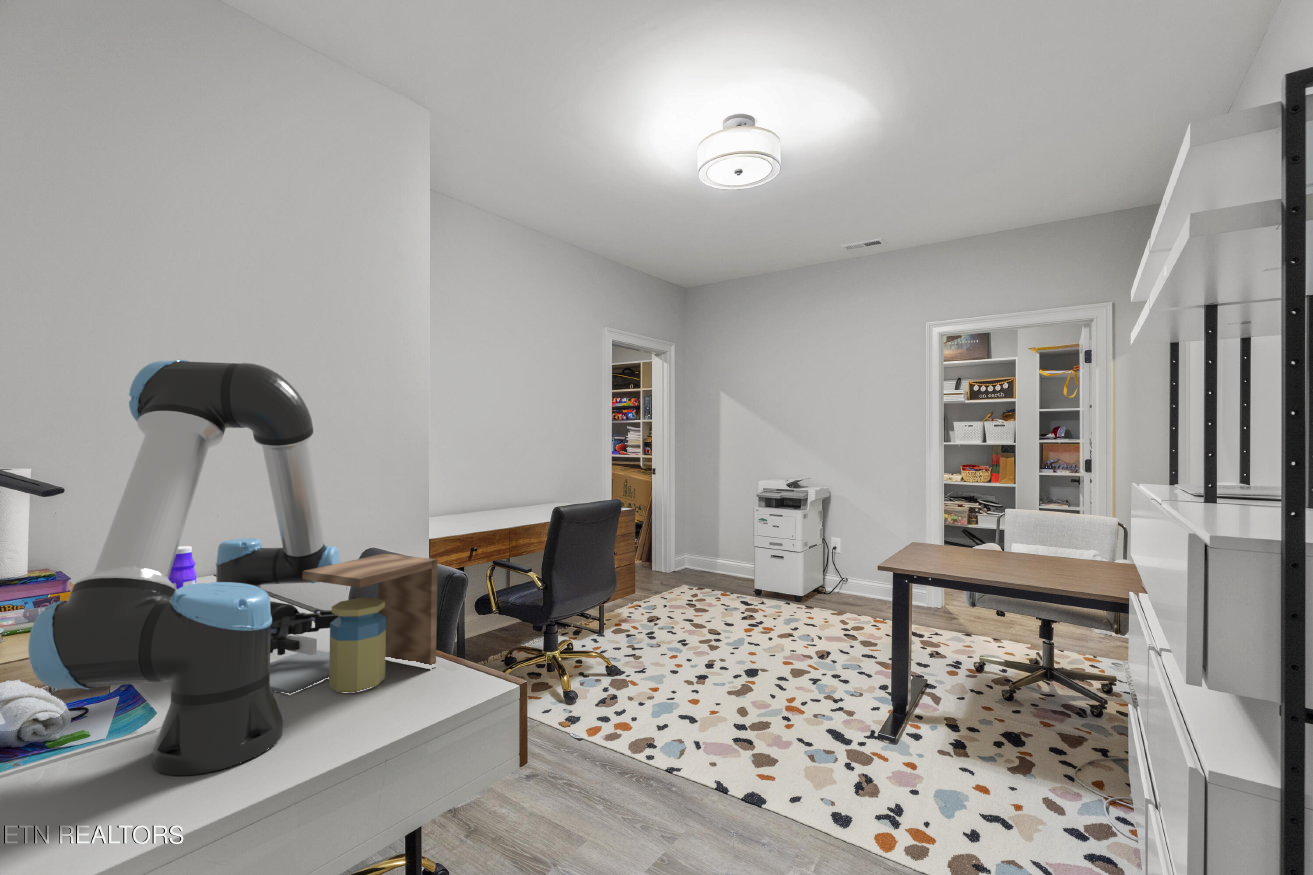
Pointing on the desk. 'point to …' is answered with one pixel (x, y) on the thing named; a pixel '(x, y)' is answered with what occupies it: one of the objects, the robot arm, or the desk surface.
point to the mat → (298, 671)
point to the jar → (357, 645)
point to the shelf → (395, 599)
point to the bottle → (183, 568)
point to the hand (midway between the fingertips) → (347, 635)
